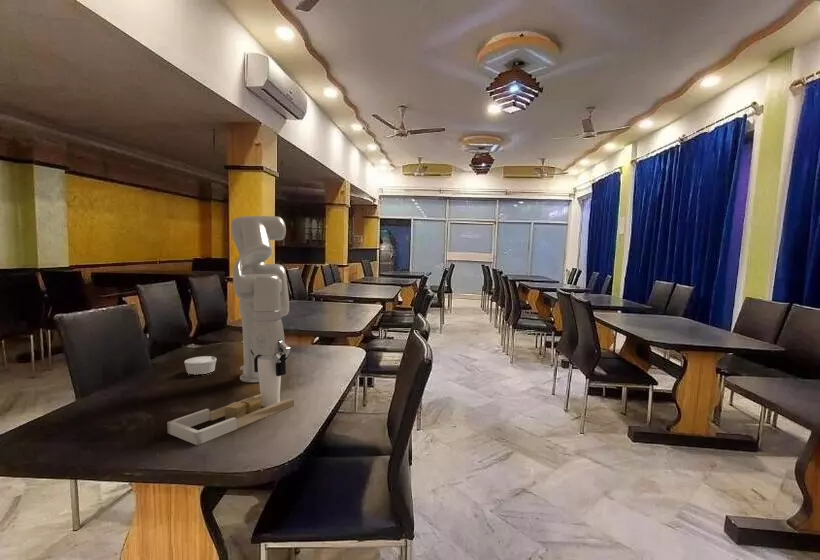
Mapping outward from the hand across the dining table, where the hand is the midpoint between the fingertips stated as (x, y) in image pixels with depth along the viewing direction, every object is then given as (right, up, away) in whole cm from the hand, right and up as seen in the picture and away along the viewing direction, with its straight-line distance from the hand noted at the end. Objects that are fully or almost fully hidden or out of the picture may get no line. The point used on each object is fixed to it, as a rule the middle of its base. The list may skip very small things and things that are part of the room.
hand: (270, 373), depth 130 cm
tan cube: (-7, -11, -9) cm, 16 cm away
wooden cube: (-4, -11, -5) cm, 12 cm away
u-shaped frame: (-12, -12, -17) cm, 24 cm away
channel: (-4, -11, -4) cm, 12 cm away
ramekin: (-39, -8, +37) cm, 55 cm away
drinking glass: (0, -10, +1) cm, 10 cm away
